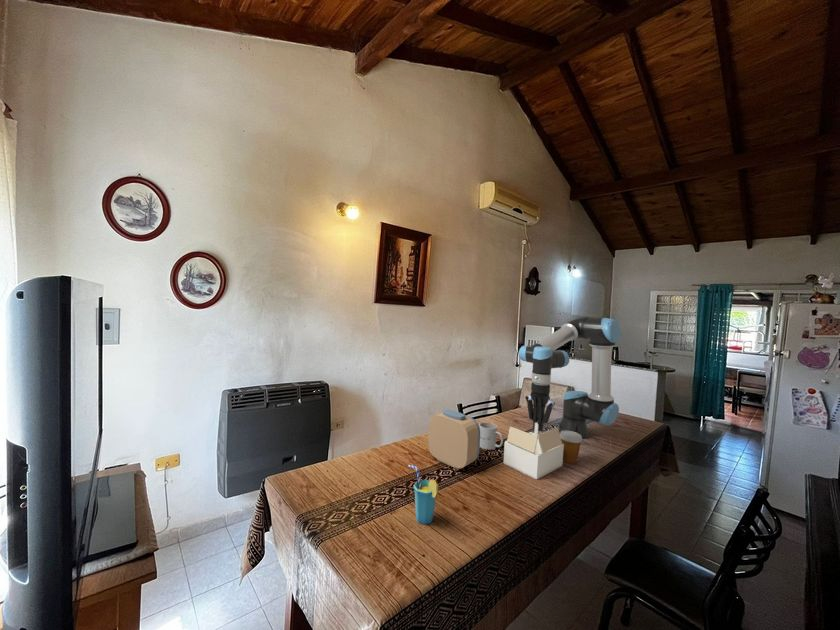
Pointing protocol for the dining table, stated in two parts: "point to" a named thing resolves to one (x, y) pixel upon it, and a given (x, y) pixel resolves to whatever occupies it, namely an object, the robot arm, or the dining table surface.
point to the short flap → (522, 439)
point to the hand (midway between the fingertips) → (537, 437)
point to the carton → (533, 459)
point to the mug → (489, 436)
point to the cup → (424, 498)
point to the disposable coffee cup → (570, 445)
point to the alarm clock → (454, 438)
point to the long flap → (549, 439)
